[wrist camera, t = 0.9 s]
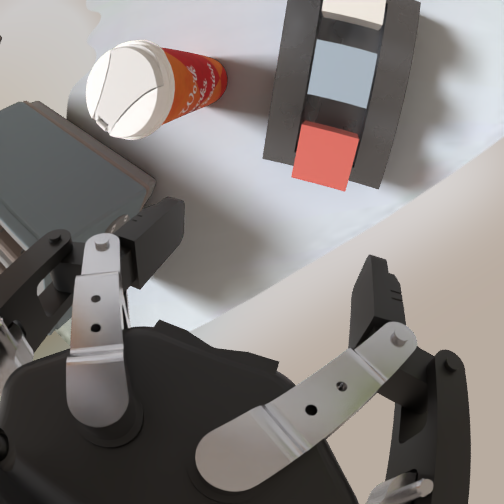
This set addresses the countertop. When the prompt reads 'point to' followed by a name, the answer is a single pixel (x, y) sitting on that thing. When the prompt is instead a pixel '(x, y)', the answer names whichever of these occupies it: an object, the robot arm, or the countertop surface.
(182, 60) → the coffee cup
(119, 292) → the robot arm
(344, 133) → the red key
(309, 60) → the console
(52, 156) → the toaster
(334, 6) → the white key
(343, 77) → the slate-blue key
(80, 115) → the countertop surface
